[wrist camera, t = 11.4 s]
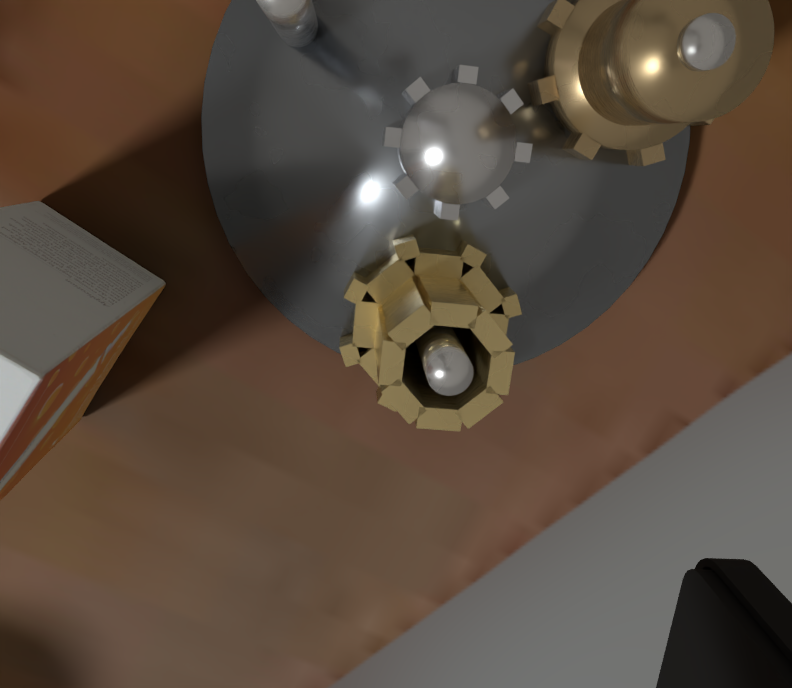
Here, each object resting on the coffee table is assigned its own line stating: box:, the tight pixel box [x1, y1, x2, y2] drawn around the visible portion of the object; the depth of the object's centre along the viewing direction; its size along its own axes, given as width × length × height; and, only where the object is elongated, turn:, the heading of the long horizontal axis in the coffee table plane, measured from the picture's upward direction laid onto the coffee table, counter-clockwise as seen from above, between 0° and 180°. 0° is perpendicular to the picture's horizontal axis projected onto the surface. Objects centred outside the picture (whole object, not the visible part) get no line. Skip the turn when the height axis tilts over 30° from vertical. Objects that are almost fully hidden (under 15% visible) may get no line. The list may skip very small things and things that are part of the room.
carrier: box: [201, 0, 774, 396], centre depth 25 cm, size 20×20×8 cm
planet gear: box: [339, 234, 522, 431], centre depth 27 cm, size 7×7×6 cm
